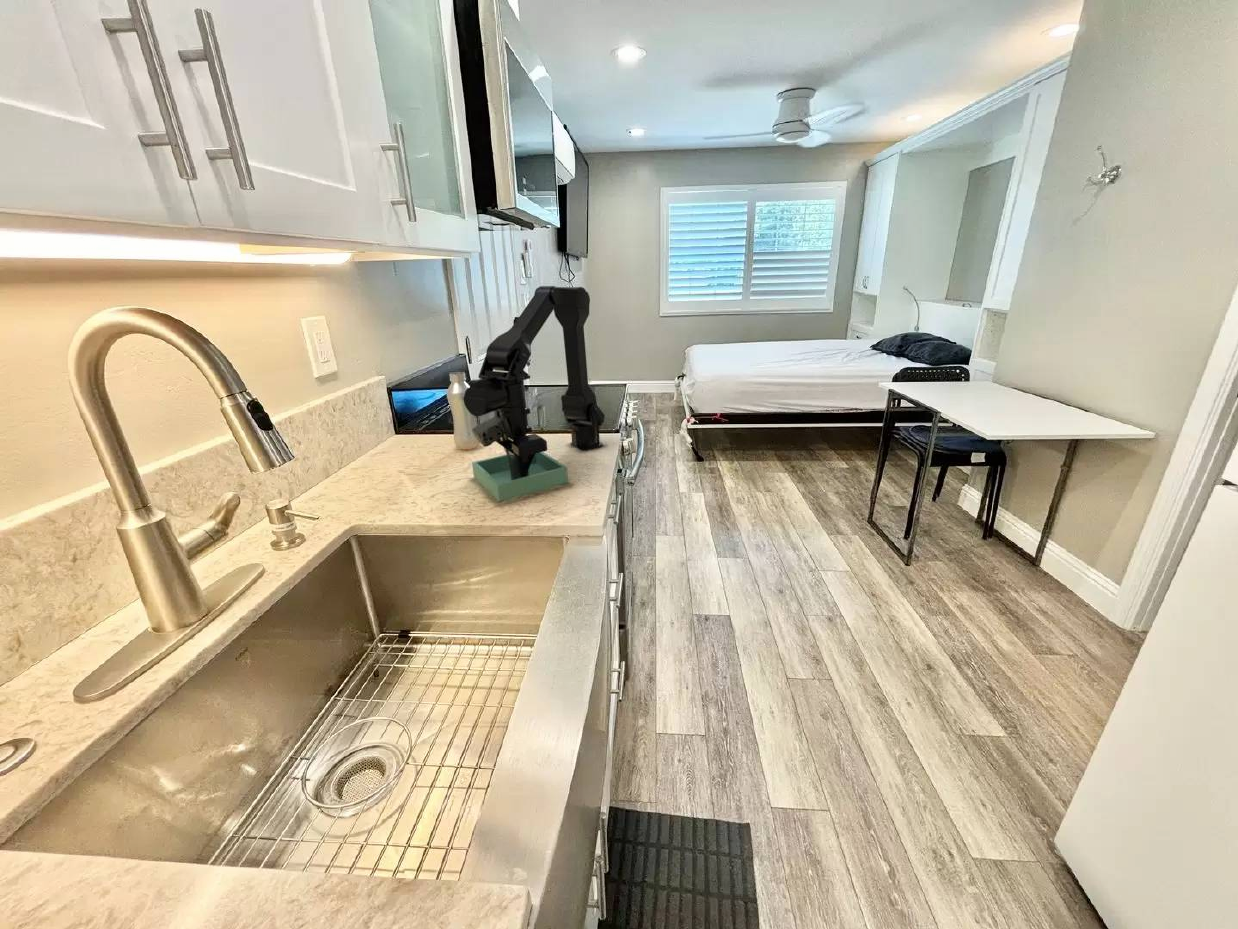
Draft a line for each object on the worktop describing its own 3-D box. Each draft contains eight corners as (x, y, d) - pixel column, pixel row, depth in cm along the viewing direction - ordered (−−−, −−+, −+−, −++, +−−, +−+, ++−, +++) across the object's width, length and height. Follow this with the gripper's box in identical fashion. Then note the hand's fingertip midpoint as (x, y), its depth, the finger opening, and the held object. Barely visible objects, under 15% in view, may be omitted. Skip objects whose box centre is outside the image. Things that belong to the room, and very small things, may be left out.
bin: (537, 464, 118) (536, 447, 117) (568, 485, 106) (567, 467, 105) (474, 480, 110) (471, 462, 109) (500, 505, 98) (497, 485, 97)
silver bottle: (474, 452, 127) (463, 376, 119) (450, 451, 128) (438, 375, 121) (485, 444, 133) (475, 370, 125) (462, 443, 134) (451, 370, 127)
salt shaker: (525, 474, 111) (521, 445, 108) (532, 480, 107) (529, 450, 105) (508, 478, 108) (504, 449, 106) (515, 484, 105) (511, 454, 103)
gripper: (459, 401, 105) (469, 468, 111) (490, 421, 90) (500, 497, 96) (508, 393, 110) (515, 457, 116) (545, 410, 96) (551, 483, 102)
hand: (519, 473), depth 107 cm, fingers closed on salt shaker, 4 cm apart
